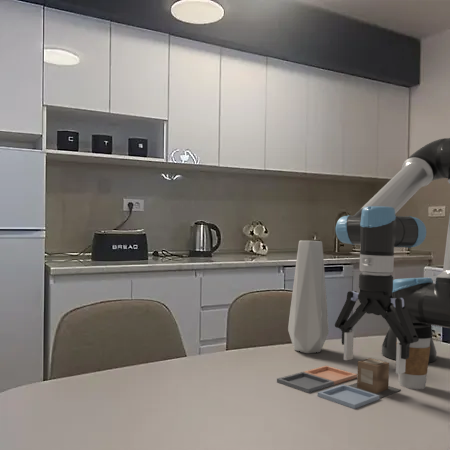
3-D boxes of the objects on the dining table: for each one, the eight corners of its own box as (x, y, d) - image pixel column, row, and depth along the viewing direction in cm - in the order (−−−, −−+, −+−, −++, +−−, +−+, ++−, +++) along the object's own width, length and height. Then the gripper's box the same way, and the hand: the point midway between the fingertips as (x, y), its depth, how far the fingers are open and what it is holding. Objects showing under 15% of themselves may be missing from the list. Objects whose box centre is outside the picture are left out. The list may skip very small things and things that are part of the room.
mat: (366, 382, 123) (366, 379, 123) (400, 392, 116) (400, 389, 116) (344, 389, 117) (344, 386, 117) (379, 400, 110) (379, 397, 110)
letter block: (369, 383, 120) (370, 357, 120) (388, 389, 116) (389, 362, 116) (356, 387, 117) (357, 361, 117) (376, 393, 113) (376, 366, 113)
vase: (278, 349, 153) (281, 240, 153) (302, 343, 161) (305, 239, 160) (310, 358, 144) (313, 241, 144) (334, 351, 152) (337, 241, 151)
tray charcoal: (302, 376, 126) (302, 371, 126) (333, 386, 119) (333, 381, 119) (276, 383, 120) (276, 378, 120) (308, 394, 113) (308, 389, 113)
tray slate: (342, 389, 117) (343, 384, 117) (379, 400, 110) (379, 395, 110) (317, 397, 111) (317, 392, 111) (354, 410, 104) (354, 404, 104)
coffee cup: (434, 394, 116) (436, 328, 116) (395, 390, 117) (397, 325, 117) (427, 382, 124) (429, 321, 124) (391, 379, 125) (392, 319, 125)
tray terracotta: (326, 370, 132) (326, 365, 132) (356, 379, 125) (357, 374, 125) (302, 376, 126) (302, 371, 126) (333, 386, 119) (334, 381, 119)
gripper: (322, 269, 123) (319, 356, 123) (419, 279, 105) (416, 382, 105) (340, 268, 128) (338, 352, 128) (436, 278, 110) (433, 376, 110)
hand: (373, 366), depth 117 cm, fingers open, 13 cm apart
